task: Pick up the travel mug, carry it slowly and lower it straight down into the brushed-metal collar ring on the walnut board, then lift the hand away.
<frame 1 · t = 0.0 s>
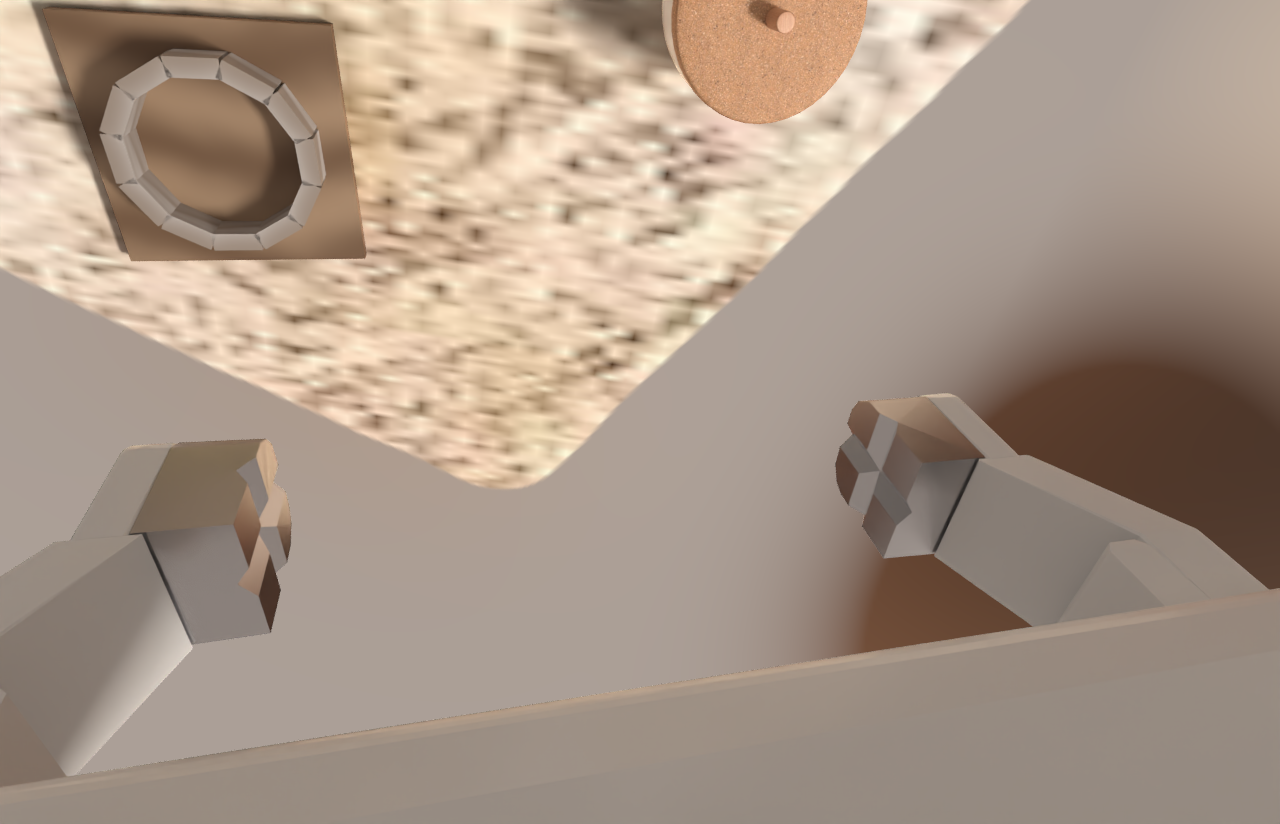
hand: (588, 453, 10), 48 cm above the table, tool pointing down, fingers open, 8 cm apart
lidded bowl: (726, 0, 51), on the table
collar board: (228, 146, 49), on the table
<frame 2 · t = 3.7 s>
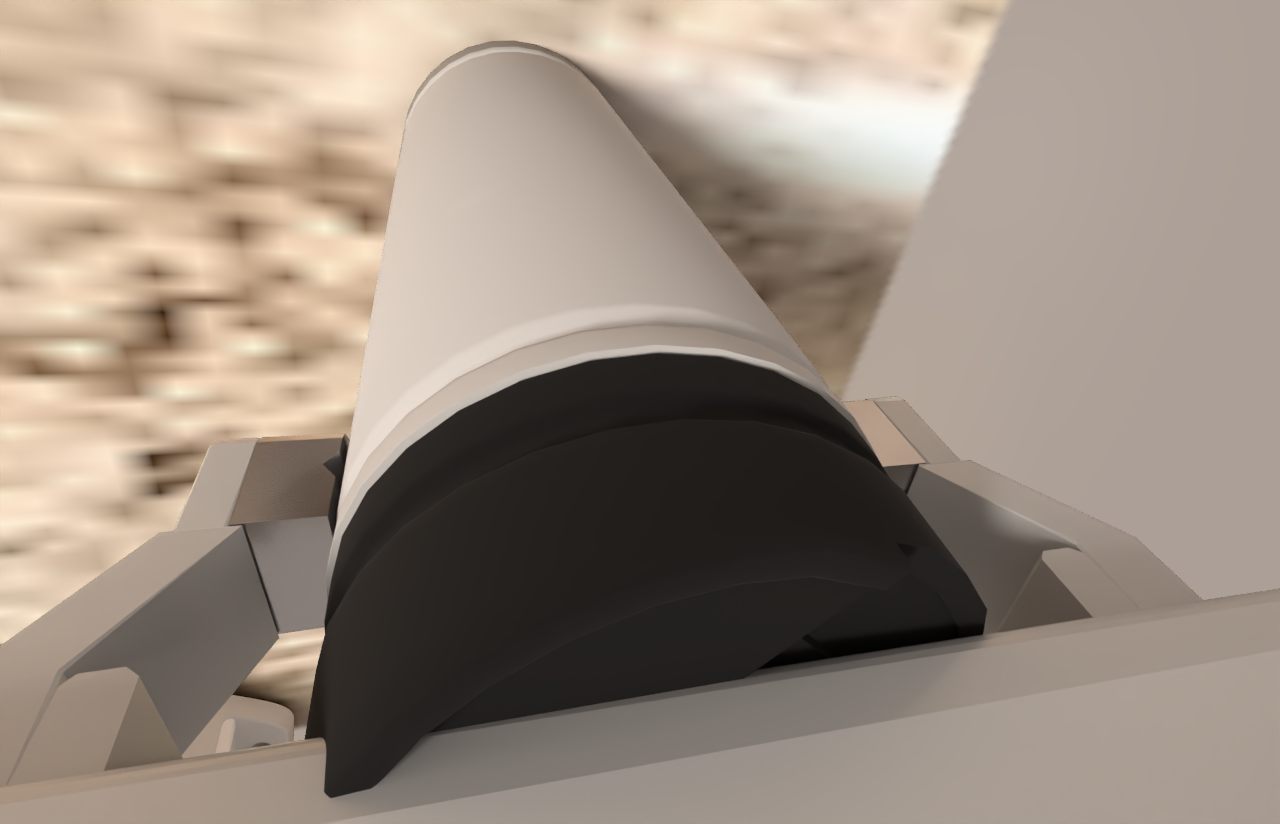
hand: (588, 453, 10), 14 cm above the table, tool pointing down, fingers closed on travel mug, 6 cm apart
travel mug: (508, 157, 21), on the table, touching gripper
when the fingers open (17 cm above the table, at t = 12.5 s): travel mug drops 1 cm, resting on collar board.
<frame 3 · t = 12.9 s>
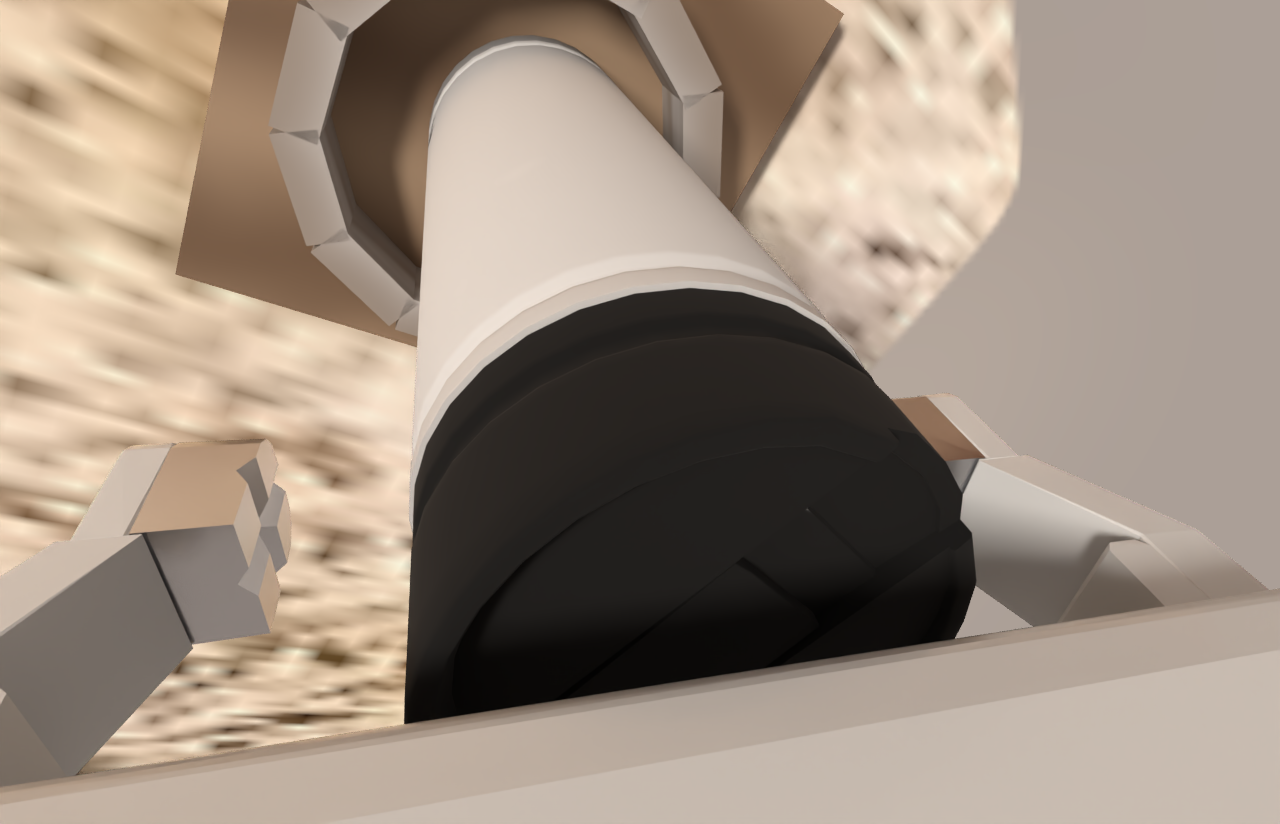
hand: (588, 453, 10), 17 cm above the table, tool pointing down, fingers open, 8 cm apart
travel mug: (527, 146, 23), point 1 cm above the table, touching collar board
collar board: (506, 135, 23), on the table
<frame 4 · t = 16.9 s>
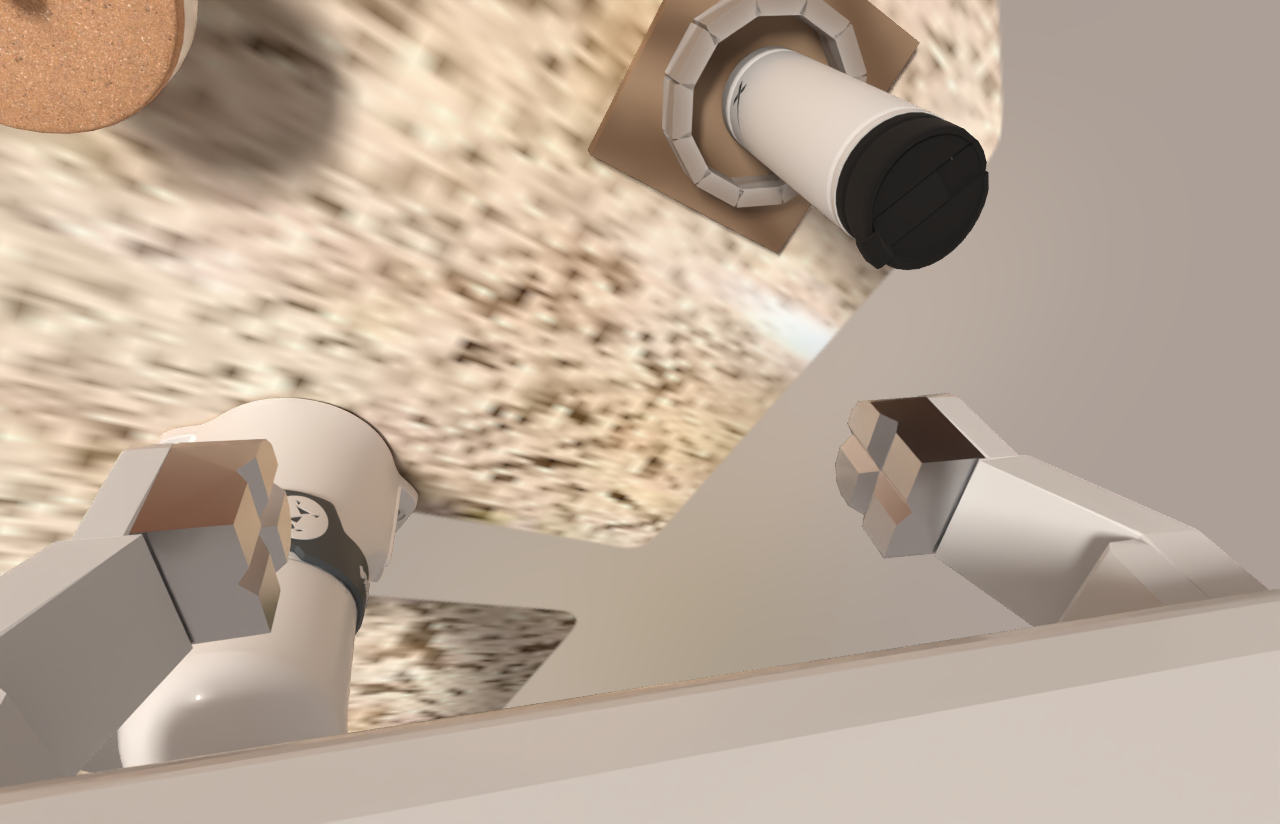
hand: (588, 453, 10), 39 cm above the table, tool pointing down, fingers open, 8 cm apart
travel mug: (763, 100, 46), point 1 cm above the table, touching collar board
collar board: (750, 94, 46), on the table
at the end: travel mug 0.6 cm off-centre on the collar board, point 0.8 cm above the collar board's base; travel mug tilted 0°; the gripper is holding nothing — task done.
